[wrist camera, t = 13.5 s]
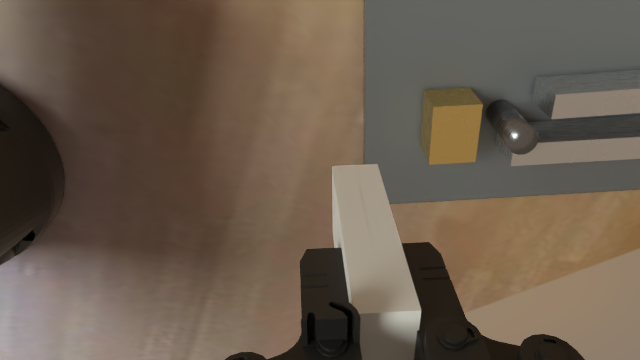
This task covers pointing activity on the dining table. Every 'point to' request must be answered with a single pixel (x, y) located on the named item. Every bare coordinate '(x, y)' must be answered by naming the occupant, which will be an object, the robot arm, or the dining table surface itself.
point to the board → (486, 87)
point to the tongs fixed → (562, 138)
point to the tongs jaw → (588, 94)
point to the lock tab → (450, 125)
